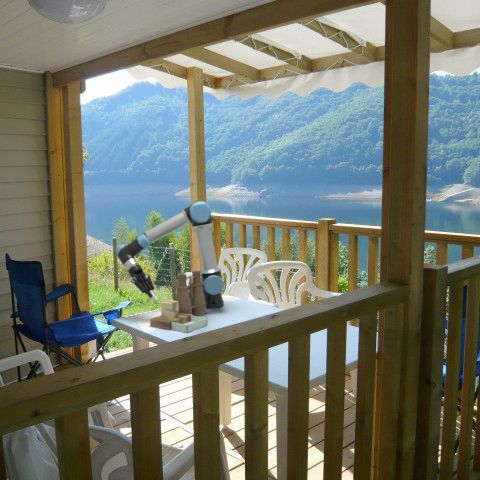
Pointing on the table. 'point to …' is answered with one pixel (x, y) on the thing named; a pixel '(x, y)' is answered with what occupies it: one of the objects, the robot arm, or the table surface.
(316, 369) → the table surface
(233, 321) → the table surface
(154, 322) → the board
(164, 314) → the block
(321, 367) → the table surface
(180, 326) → the tray
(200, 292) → the binoculars
